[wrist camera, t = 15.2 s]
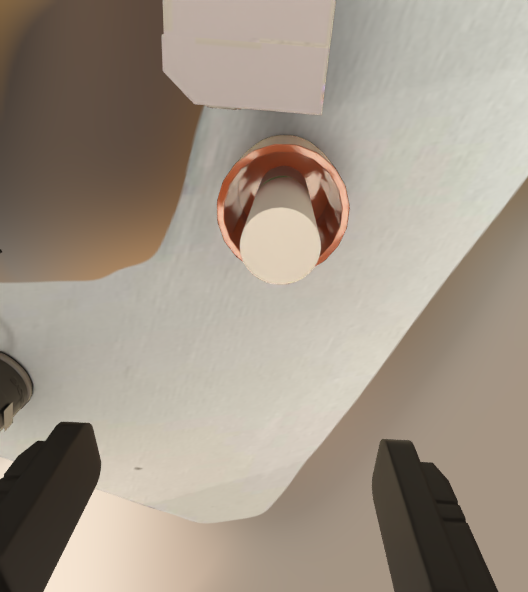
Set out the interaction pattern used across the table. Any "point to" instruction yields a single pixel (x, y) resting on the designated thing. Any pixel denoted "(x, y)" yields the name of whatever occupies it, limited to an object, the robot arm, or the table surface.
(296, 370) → the table surface
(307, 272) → the tube
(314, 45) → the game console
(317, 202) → the pen cup
